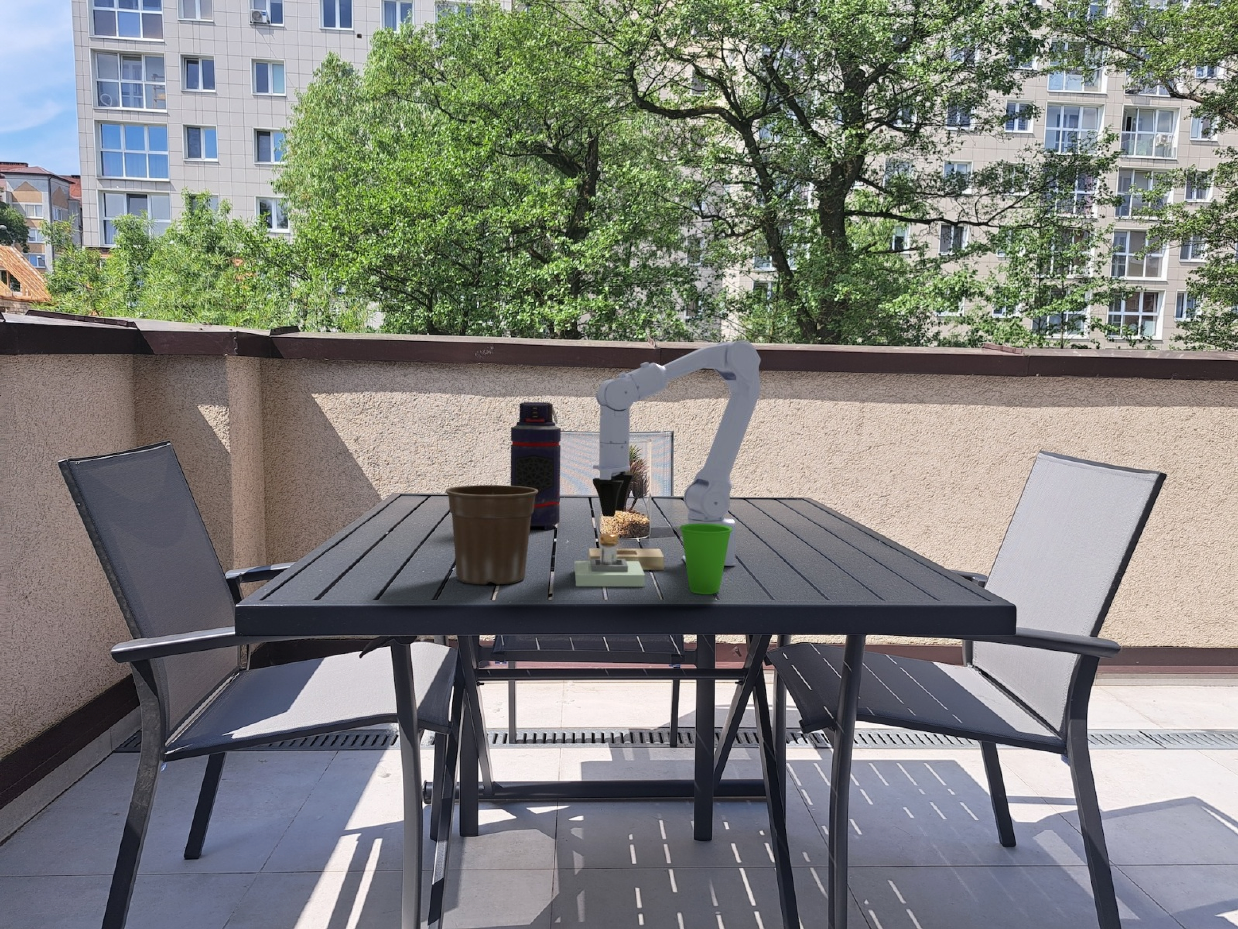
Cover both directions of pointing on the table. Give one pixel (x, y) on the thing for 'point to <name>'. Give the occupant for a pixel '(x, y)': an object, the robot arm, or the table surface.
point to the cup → (705, 555)
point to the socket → (609, 573)
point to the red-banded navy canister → (538, 460)
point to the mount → (636, 557)
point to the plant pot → (491, 532)
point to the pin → (608, 548)
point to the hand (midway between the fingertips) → (613, 513)
